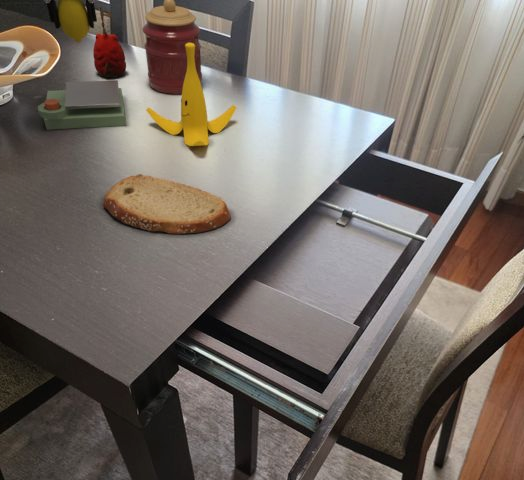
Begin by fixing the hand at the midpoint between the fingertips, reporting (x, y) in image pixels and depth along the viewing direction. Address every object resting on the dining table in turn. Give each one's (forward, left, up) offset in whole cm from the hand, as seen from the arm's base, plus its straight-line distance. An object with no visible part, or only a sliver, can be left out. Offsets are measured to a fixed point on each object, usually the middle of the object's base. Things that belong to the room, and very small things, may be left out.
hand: (75, 25), depth 93 cm
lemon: (0, 0, -3) cm, 3 cm away
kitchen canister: (+20, +16, -17) cm, 31 cm away
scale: (-1, +2, -17) cm, 17 cm away
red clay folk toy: (+5, +24, -17) cm, 30 cm away
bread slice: (+12, -39, -17) cm, 44 cm away
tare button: (-7, -3, -14) cm, 16 cm away
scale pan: (+1, +2, -13) cm, 14 cm away
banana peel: (+23, -10, -17) cm, 30 cm away
